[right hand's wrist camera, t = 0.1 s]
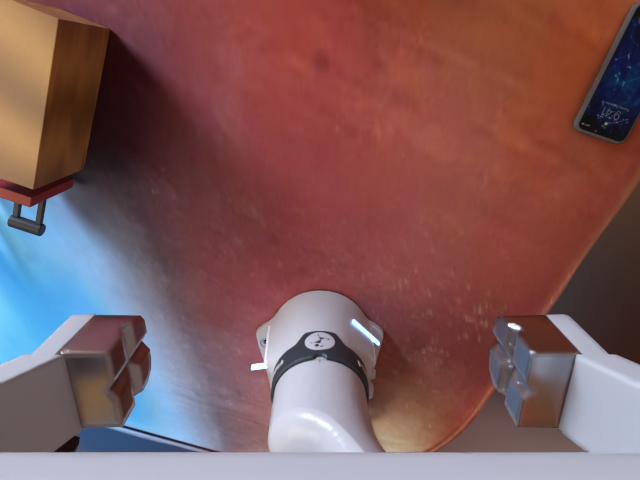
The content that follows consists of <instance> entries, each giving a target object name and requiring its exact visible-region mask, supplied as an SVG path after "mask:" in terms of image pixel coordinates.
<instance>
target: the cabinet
mask: <svg viewBox="0 0 640 480" xmlns="http://www.w3.org/2000/svg"><path fill="white" fill-rule="evenodd" d="M109 33H110V28H107V27H104V26H102V25H99V24H97V23H94V22H92V21H89V20H87V19H84V18H82V17H79V16H76V15H74V14H71V13H69V12H66V11H64V10H61V9H58V8H53V7H49V6H45V5H41V4H36V3H32V2H28V1H24V0H0V179H3V180H6V181H9V182H12V183H15V184H18V185H21V186H24V187H27V188H30V189H33V190H34V189H36V188H39V187H42V186H44V185H46V184H49V183H51V182H54V181H56V180H58V179H61V178H63V177H66V176H68V175H70V174H73V173H75V172H78V171H80V170H82V169H84V166H85V161H86V156H87V150H88V145H89V140H90V134H91V129H92V124H93V118H94V113H95V108H96V102H97V97H98V92H99V86H100V81H101V76H102V70H103V65H104V60H105V54H106V49H107V44H108V38H109Z"/></svg>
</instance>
